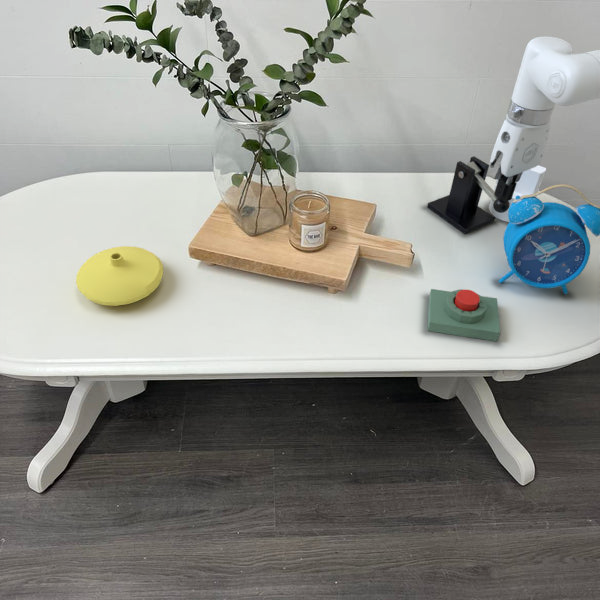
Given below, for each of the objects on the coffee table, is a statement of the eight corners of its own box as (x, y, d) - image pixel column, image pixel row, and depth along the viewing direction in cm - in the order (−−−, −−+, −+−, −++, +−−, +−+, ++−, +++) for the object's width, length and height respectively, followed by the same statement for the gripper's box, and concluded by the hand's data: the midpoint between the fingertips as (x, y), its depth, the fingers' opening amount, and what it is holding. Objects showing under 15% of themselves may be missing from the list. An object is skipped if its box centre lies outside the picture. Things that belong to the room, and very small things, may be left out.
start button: (477, 298, 103) (479, 291, 101) (477, 313, 100) (480, 306, 98) (454, 295, 103) (456, 287, 102) (454, 310, 100) (456, 302, 99)
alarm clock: (489, 289, 110) (519, 201, 96) (489, 257, 117) (517, 171, 104) (581, 305, 107) (625, 216, 94) (575, 271, 114) (615, 184, 101)
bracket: (494, 221, 127) (509, 170, 118) (464, 234, 123) (478, 182, 114) (455, 196, 134) (468, 146, 125) (426, 207, 130) (437, 156, 121)
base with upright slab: (536, 210, 130) (553, 163, 122) (518, 227, 125) (535, 179, 117) (500, 195, 134) (514, 149, 126) (481, 211, 129) (495, 164, 121)
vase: (72, 316, 102) (61, 287, 97) (87, 260, 113) (79, 231, 108) (162, 312, 103) (156, 282, 98) (168, 257, 114) (163, 228, 110)
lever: (508, 213, 119) (515, 203, 116) (497, 217, 117) (504, 207, 115) (469, 169, 123) (475, 159, 121) (458, 173, 122) (464, 163, 119)
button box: (494, 306, 106) (499, 291, 104) (496, 341, 100) (502, 325, 97) (428, 297, 108) (432, 281, 105) (427, 330, 101) (431, 314, 99)
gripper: (517, 129, 98) (490, 217, 111) (573, 110, 105) (541, 196, 117) (485, 112, 103) (462, 199, 115) (540, 95, 109) (513, 179, 122)
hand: (502, 197), depth 116 cm, fingers closed
